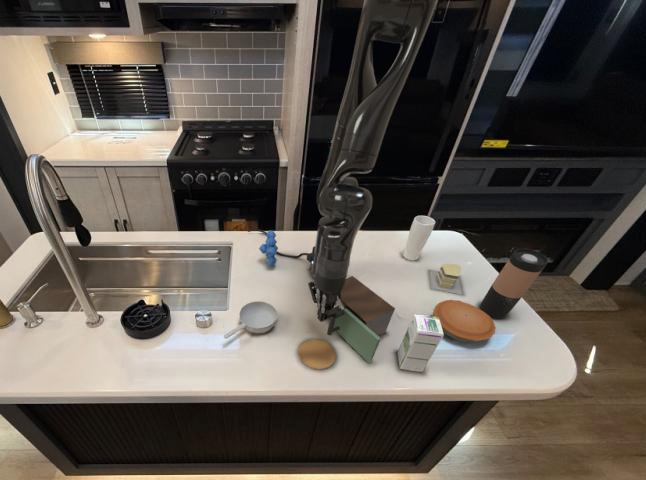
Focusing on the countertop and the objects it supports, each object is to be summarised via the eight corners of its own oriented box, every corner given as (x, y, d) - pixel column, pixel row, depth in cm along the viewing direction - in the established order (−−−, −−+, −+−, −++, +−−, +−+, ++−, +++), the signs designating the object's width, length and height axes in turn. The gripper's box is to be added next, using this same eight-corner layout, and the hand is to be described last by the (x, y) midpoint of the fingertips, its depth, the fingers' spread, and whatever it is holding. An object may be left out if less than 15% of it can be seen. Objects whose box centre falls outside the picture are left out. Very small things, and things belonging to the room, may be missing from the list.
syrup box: (423, 373, 79) (446, 334, 69) (398, 369, 80) (418, 330, 70) (419, 355, 83) (440, 316, 73) (395, 351, 84) (413, 313, 74)
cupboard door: (322, 333, 88) (326, 310, 82) (335, 326, 90) (341, 303, 84) (357, 369, 79) (366, 346, 73) (371, 361, 81) (381, 338, 75)
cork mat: (291, 349, 84) (291, 348, 84) (319, 335, 88) (319, 334, 88) (313, 375, 78) (314, 374, 78) (343, 359, 82) (343, 358, 82)
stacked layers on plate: (461, 294, 101) (469, 281, 97) (431, 288, 103) (438, 275, 99) (457, 276, 108) (465, 263, 104) (429, 271, 110) (435, 258, 106)
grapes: (258, 253, 118) (258, 224, 110) (276, 252, 118) (277, 224, 110) (259, 272, 110) (259, 242, 102) (278, 271, 110) (280, 242, 102)
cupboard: (320, 312, 95) (325, 286, 88) (345, 300, 99) (352, 275, 92) (358, 348, 85) (367, 322, 78) (384, 333, 88) (395, 308, 82)
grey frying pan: (284, 322, 92) (285, 313, 89) (238, 357, 82) (238, 348, 80) (258, 304, 97) (258, 295, 95) (212, 335, 88) (211, 326, 85)
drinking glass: (410, 264, 113) (426, 226, 103) (396, 254, 117) (409, 218, 107) (424, 259, 115) (440, 222, 105) (409, 250, 120) (423, 213, 109)
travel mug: (507, 308, 96) (548, 253, 82) (506, 323, 91) (549, 268, 78) (479, 299, 99) (514, 245, 85) (476, 313, 94) (513, 258, 81)
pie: (480, 358, 82) (489, 346, 79) (420, 328, 90) (427, 316, 86) (495, 326, 90) (504, 314, 87) (440, 301, 98) (446, 289, 95)
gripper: (363, 278, 72) (348, 329, 84) (326, 250, 80) (317, 300, 92) (338, 289, 69) (326, 340, 81) (302, 259, 78) (296, 309, 89)
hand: (321, 318), depth 86 cm, fingers closed
